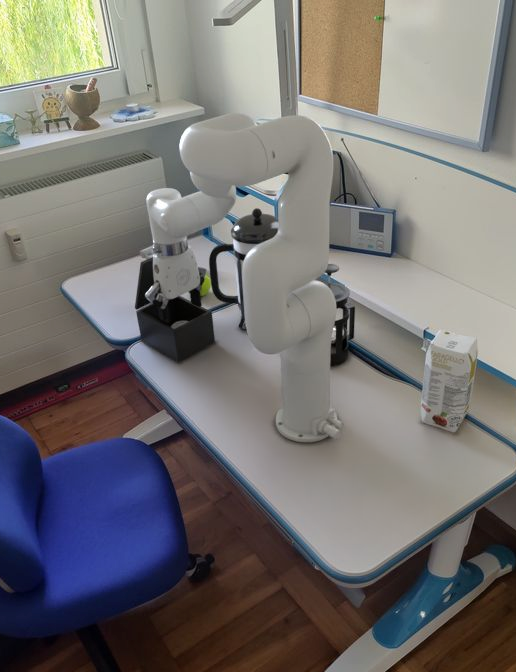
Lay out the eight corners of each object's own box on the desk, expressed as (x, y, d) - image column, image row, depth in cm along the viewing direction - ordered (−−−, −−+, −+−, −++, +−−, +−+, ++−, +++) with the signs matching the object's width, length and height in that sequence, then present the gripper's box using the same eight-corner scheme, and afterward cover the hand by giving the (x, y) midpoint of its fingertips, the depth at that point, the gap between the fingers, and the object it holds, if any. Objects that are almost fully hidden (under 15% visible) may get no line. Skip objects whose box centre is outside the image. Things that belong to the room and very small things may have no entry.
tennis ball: (181, 295, 182) (178, 272, 178) (201, 286, 186) (198, 263, 182) (197, 303, 178) (194, 280, 174) (217, 294, 181) (214, 271, 177)
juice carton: (458, 437, 128) (470, 357, 118) (415, 423, 132) (424, 344, 122) (470, 415, 134) (483, 336, 123) (429, 402, 138) (438, 325, 127)
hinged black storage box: (215, 342, 161) (211, 311, 156) (178, 363, 155) (173, 331, 150) (177, 322, 170) (173, 292, 165) (141, 341, 164) (135, 310, 159)
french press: (319, 372, 149) (319, 281, 136) (298, 352, 156) (296, 264, 143) (362, 357, 153) (366, 267, 140) (341, 338, 160) (342, 251, 147)
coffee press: (268, 297, 178) (263, 190, 161) (304, 321, 167) (301, 209, 150) (213, 318, 171) (201, 208, 154) (246, 345, 159) (237, 230, 143)
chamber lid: (182, 246, 153) (168, 233, 155) (142, 264, 147) (128, 250, 148) (174, 291, 165) (161, 278, 167) (136, 310, 158) (123, 296, 160)
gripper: (149, 263, 139) (162, 333, 148) (211, 236, 148) (219, 303, 158) (129, 254, 143) (142, 322, 153) (190, 229, 153) (198, 294, 162)
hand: (181, 312), depth 155 cm, fingers open, 9 cm apart
